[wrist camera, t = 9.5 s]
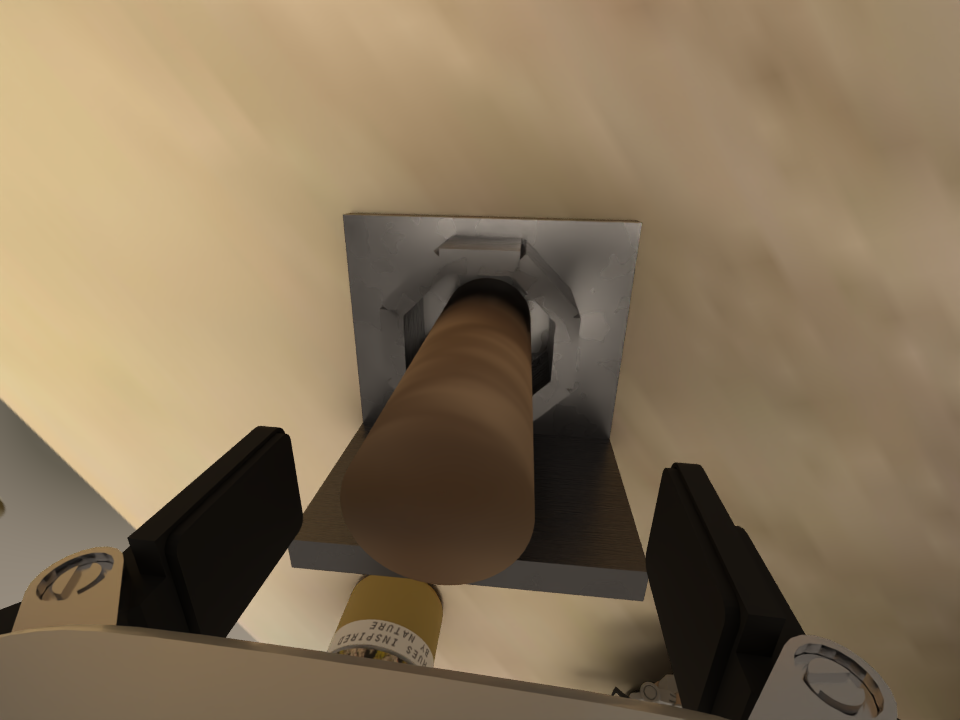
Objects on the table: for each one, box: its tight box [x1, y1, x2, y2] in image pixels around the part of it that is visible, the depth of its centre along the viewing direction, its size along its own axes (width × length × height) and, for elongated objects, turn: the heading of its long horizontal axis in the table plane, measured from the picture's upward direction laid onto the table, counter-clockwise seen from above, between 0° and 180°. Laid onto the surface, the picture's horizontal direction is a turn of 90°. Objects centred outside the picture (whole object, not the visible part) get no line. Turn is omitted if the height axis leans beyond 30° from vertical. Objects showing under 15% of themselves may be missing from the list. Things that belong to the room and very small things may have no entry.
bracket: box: [288, 213, 648, 601], centre depth 20 cm, size 13×14×10 cm
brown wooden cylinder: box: [340, 278, 535, 585], centre depth 16 cm, size 4×4×14 cm
